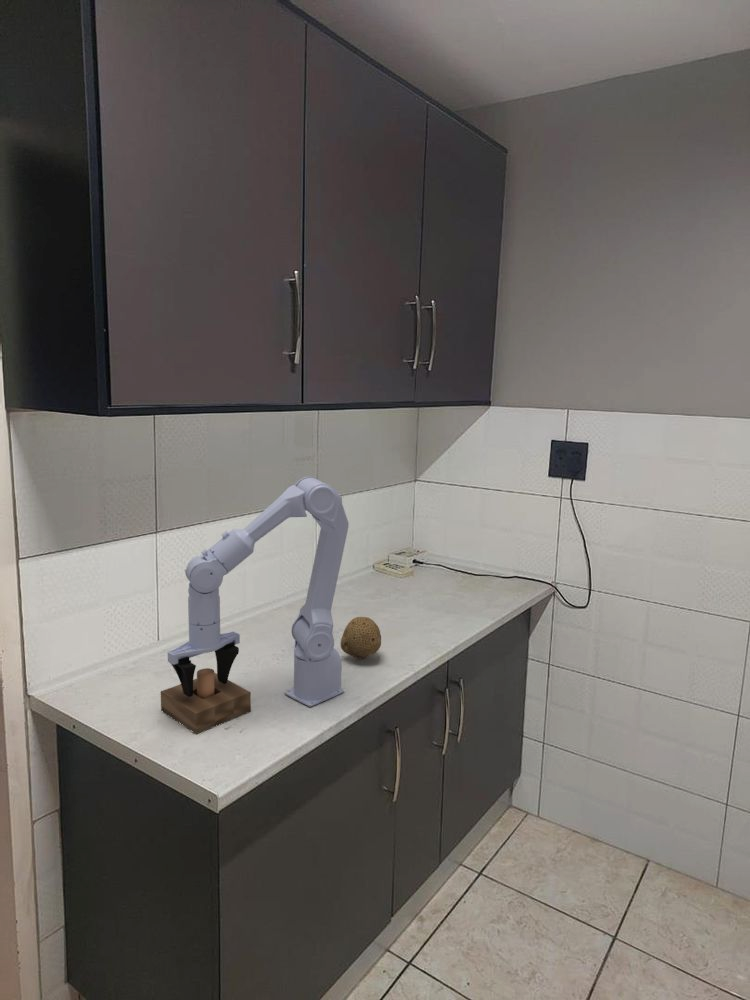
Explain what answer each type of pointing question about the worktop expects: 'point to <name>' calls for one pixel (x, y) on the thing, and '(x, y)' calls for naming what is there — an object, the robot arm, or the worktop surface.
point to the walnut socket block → (206, 705)
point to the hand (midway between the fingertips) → (205, 688)
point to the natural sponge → (361, 638)
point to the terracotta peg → (205, 683)
